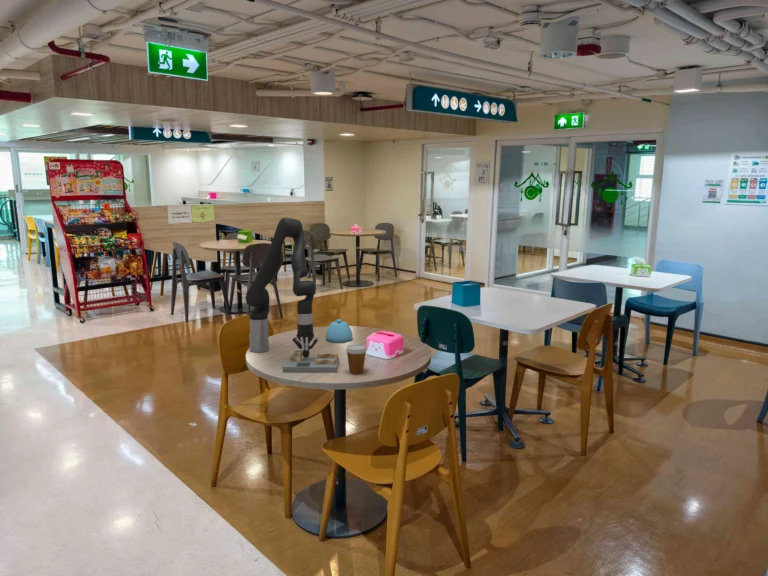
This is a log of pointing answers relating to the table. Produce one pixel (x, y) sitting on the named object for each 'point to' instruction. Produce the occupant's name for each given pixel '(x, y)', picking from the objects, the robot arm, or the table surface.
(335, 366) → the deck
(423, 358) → the table surface
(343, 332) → the sugar bowl
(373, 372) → the table surface
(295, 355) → the block
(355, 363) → the disposable coffee cup
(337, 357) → the frame
